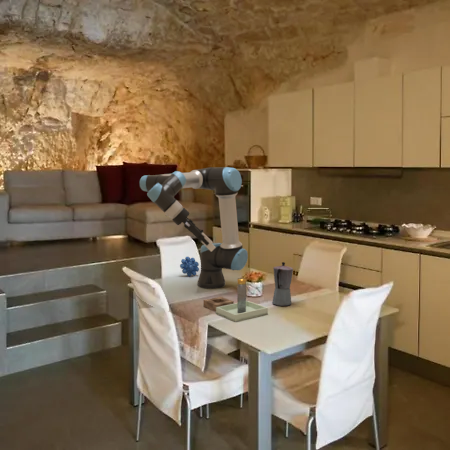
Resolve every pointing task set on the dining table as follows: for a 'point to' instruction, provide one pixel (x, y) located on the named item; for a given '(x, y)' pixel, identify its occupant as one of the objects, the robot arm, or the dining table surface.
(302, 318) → the dining table surface
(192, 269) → the grapes
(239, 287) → the grey bottle
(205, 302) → the socket block
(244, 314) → the tray
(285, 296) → the moka pot
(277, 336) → the dining table surface
